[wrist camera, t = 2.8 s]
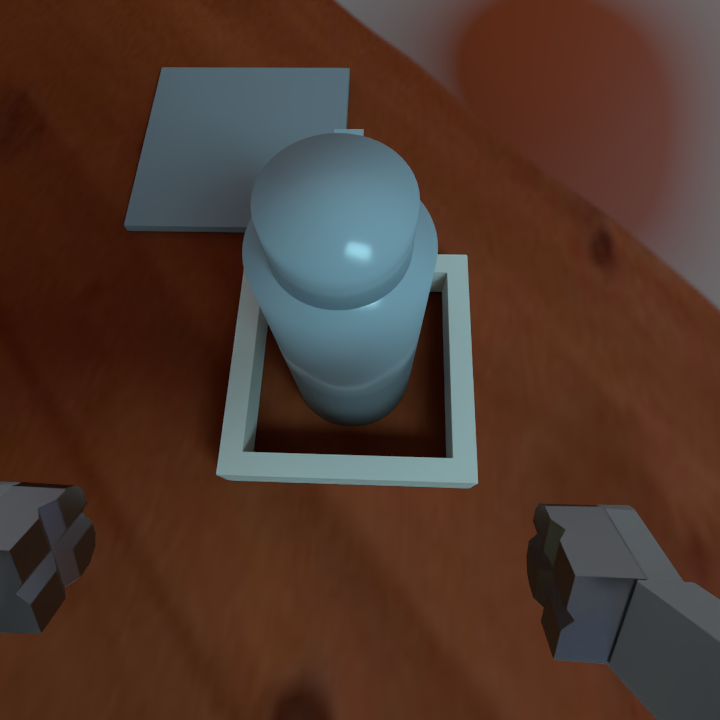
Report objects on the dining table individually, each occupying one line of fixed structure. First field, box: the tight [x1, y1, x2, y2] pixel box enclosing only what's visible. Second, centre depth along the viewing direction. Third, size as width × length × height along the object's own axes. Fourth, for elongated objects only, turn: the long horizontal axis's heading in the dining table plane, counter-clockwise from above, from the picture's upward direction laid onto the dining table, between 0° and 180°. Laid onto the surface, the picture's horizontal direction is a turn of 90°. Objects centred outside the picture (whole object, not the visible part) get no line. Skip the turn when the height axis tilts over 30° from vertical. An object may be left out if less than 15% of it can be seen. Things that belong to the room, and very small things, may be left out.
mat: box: [124, 67, 350, 233], centre depth 29 cm, size 12×12×1 cm
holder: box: [216, 254, 478, 488], centre depth 23 cm, size 11×11×2 cm
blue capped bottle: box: [242, 129, 438, 426], centre depth 19 cm, size 6×8×13 cm
